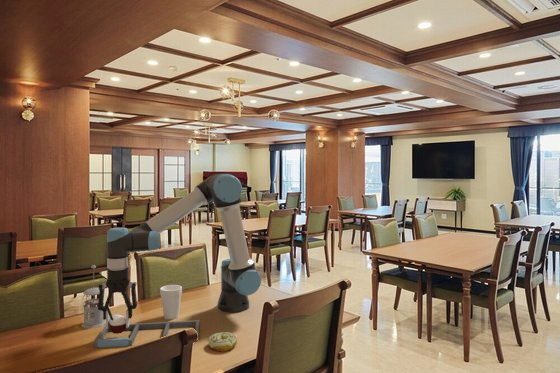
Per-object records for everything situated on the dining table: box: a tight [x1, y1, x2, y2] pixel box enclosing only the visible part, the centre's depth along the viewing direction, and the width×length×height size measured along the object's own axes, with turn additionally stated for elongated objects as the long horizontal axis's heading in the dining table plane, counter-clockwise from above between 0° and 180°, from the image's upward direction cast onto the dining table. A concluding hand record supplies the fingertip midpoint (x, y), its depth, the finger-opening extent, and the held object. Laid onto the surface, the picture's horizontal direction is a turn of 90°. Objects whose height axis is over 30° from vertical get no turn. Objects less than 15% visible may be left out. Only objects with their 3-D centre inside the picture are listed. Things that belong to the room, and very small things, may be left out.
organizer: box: [93, 319, 200, 349], centre depth 157 cm, size 37×17×2 cm, turn 99°
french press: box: [81, 264, 106, 329], centre depth 169 cm, size 10×12×25 cm
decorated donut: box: [208, 331, 238, 352], centre depth 149 cm, size 10×11×4 cm
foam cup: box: [159, 284, 183, 320], centre depth 178 cm, size 10×9×13 cm
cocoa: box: [104, 303, 126, 335], centre depth 155 cm, size 10×6×12 cm, turn 120°
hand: (117, 326), depth 155 cm, fingers closed on cocoa, 7 cm apart
